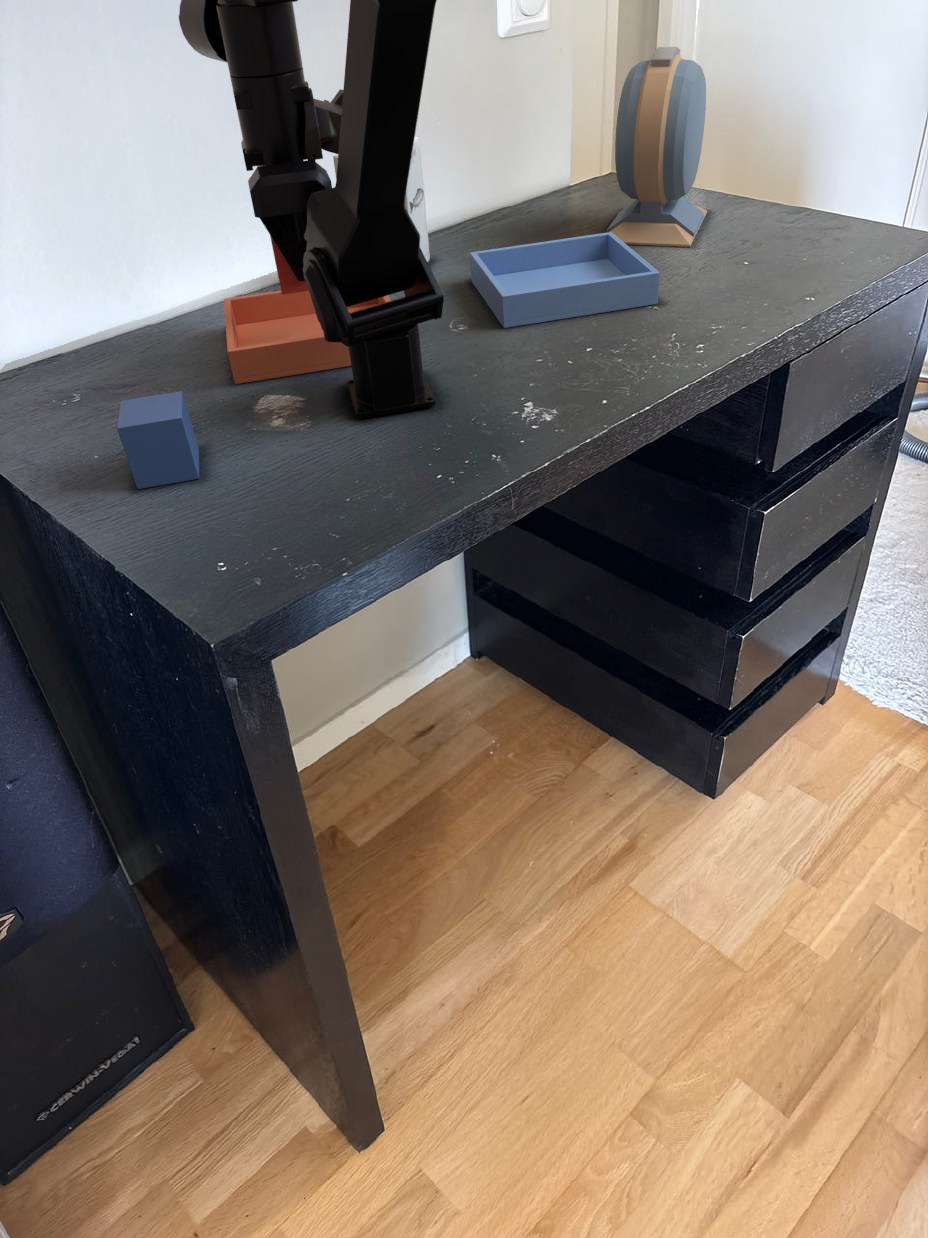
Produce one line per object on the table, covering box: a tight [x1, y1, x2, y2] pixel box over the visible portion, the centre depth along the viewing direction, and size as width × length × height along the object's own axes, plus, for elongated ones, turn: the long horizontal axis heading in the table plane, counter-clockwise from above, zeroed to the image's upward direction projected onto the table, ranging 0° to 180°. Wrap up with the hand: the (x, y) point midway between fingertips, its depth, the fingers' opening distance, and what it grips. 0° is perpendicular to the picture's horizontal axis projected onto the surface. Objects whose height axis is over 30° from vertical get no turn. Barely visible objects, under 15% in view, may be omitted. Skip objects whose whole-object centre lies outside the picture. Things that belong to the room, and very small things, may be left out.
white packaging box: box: [332, 135, 431, 264], centre depth 96 cm, size 7×7×13 cm
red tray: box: [223, 290, 392, 385], centre depth 86 cm, size 13×15×3 cm
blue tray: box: [469, 232, 661, 329], centre depth 91 cm, size 13×15×3 cm
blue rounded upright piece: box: [605, 46, 708, 248], centre depth 100 cm, size 14×10×18 cm
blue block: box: [116, 390, 200, 490], centre depth 68 cm, size 4×4×5 cm
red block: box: [269, 234, 309, 295], centre depth 82 cm, size 4×4×5 cm
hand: (302, 271), depth 82 cm, fingers closed on red block, 4 cm apart
